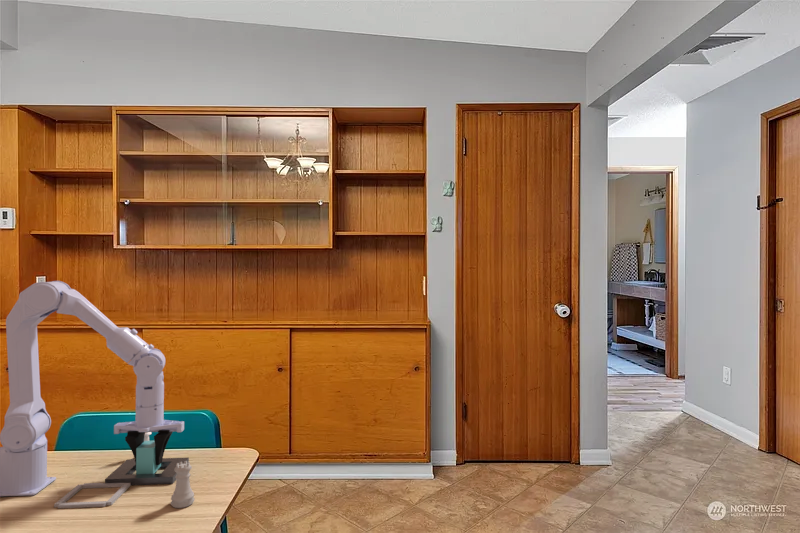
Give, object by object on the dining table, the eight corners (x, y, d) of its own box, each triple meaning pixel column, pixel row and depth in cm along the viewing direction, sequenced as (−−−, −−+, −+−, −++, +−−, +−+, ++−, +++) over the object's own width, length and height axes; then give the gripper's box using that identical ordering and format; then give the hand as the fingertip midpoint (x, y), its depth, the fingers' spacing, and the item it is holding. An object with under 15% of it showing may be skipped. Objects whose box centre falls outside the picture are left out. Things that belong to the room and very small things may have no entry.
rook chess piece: (185, 510, 96) (186, 469, 96) (165, 507, 97) (165, 467, 97) (199, 499, 100) (199, 460, 100) (179, 497, 101) (180, 458, 101)
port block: (104, 486, 106) (104, 479, 106) (127, 465, 117) (127, 459, 117) (172, 483, 108) (172, 476, 108) (188, 463, 118) (188, 457, 118)
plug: (136, 475, 109) (136, 448, 109) (144, 466, 114) (145, 440, 114) (153, 474, 110) (153, 447, 110) (161, 466, 115) (161, 440, 115)
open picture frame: (52, 508, 96) (52, 505, 96) (79, 486, 106) (79, 483, 106) (110, 506, 97) (110, 503, 97) (131, 484, 107) (131, 481, 107)
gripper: (107, 409, 107) (106, 472, 107) (177, 408, 109) (176, 469, 109) (122, 400, 114) (121, 459, 114) (187, 399, 116) (186, 457, 116)
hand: (149, 463), depth 112 cm, fingers closed on plug, 4 cm apart
